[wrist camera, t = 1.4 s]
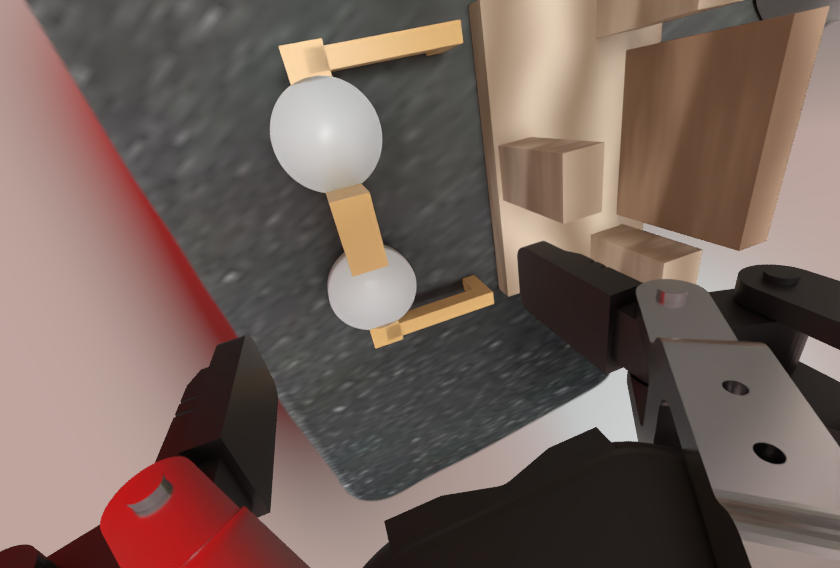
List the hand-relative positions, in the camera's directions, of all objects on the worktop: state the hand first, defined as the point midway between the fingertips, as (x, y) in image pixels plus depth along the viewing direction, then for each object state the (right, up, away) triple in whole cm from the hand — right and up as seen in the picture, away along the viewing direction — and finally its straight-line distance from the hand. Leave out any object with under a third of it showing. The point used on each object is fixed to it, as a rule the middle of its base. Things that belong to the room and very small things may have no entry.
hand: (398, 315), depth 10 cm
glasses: (-2, +7, +13) cm, 15 cm away
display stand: (+11, +11, +16) cm, 22 cm away
